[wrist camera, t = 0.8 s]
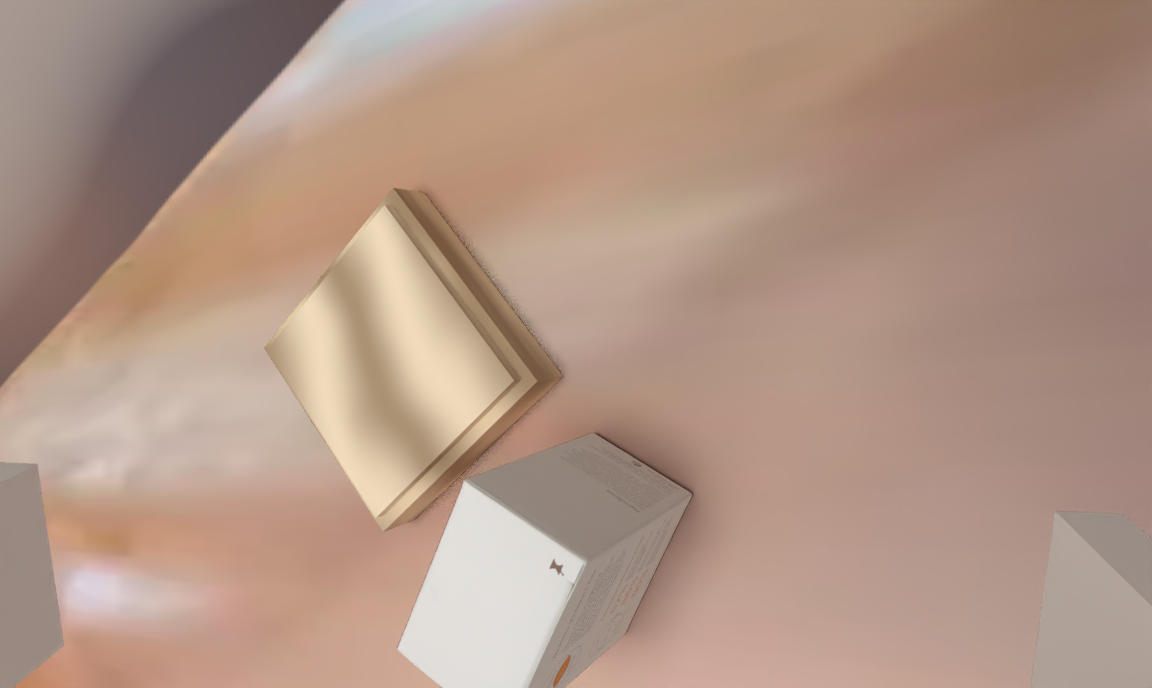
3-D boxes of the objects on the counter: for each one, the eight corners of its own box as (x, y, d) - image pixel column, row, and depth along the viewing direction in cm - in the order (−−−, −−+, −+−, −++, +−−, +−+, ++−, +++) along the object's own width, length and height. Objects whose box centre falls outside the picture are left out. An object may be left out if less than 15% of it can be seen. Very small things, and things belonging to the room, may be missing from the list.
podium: (424, 192, 44) (384, 186, 41) (563, 376, 41) (530, 382, 38) (297, 345, 49) (255, 348, 46) (413, 520, 46) (375, 534, 43)
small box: (595, 429, 40) (462, 471, 31) (698, 492, 38) (588, 559, 29) (531, 571, 42) (389, 650, 33) (625, 639, 40) (501, 744, 31)
